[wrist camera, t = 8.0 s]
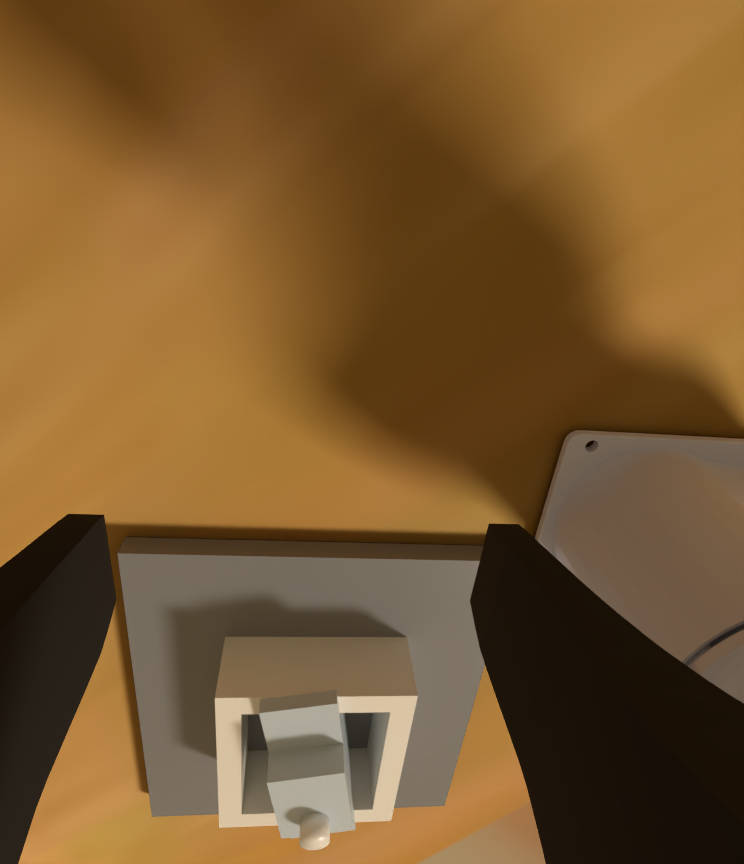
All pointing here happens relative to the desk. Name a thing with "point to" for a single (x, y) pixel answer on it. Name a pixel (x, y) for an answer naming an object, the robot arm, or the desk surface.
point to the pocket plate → (299, 664)
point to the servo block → (308, 766)
